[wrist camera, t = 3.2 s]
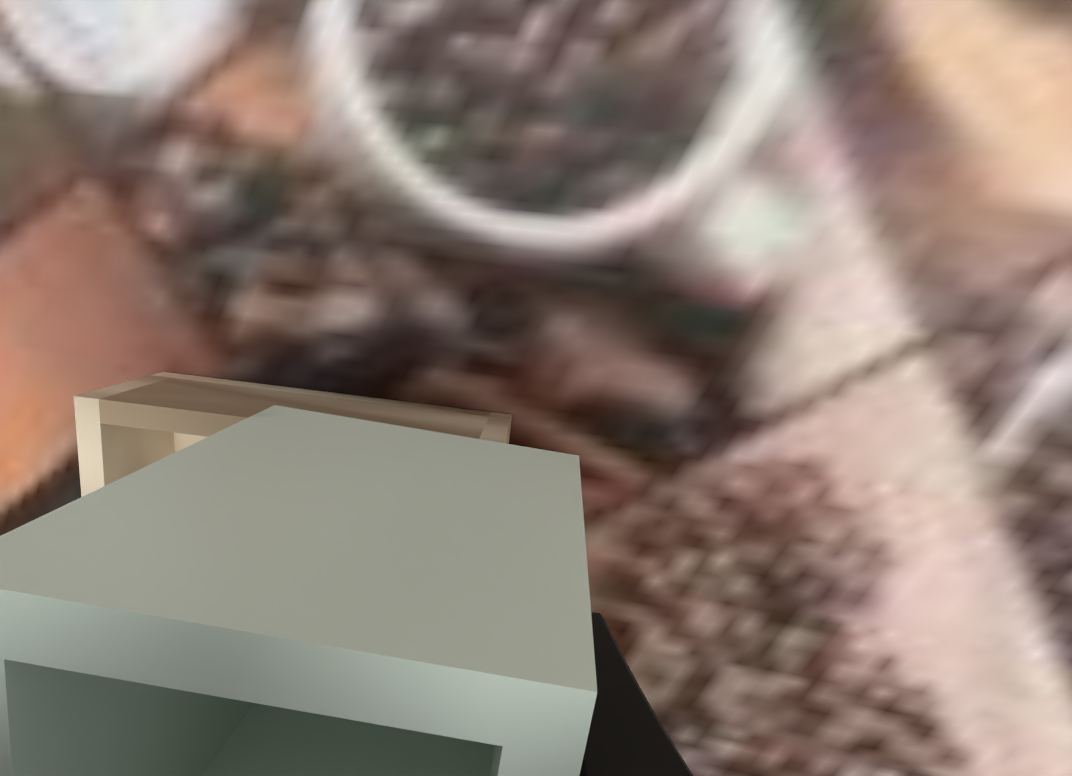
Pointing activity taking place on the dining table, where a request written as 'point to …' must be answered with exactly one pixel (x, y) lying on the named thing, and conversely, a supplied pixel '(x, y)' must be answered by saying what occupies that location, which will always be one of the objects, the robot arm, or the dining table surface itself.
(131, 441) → the beige wooden tray
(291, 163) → the dining table surface
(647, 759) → the robot arm
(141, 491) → the small crate
